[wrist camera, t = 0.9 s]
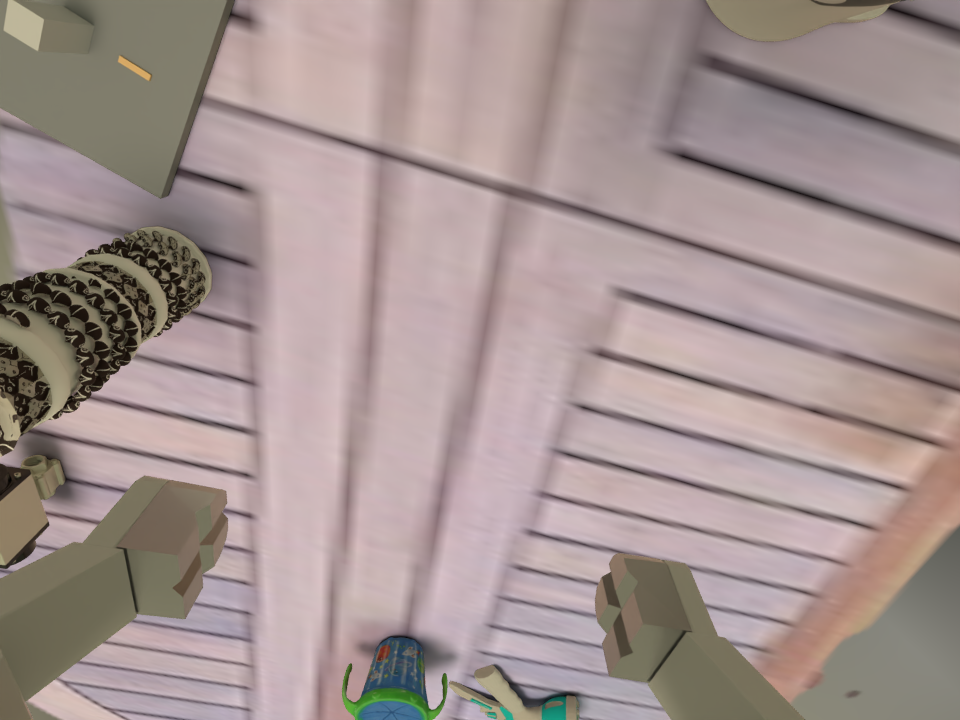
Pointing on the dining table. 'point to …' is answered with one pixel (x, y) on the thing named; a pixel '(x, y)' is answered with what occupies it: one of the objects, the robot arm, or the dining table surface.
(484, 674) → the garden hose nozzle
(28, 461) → the pneumatic valve
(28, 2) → the grey square panel
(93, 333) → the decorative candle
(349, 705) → the snack cup
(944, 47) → the dining table surface
